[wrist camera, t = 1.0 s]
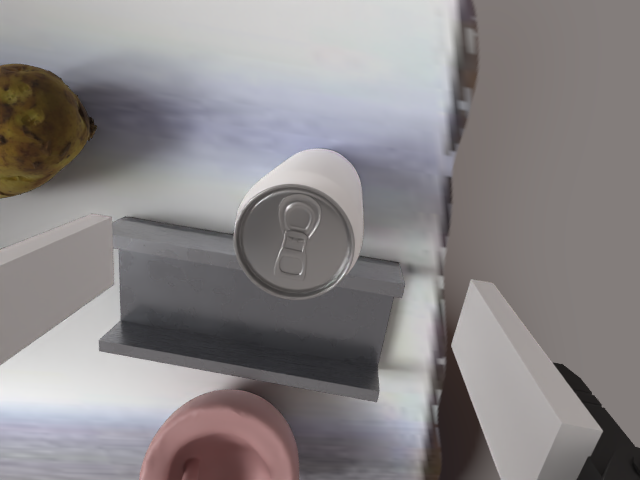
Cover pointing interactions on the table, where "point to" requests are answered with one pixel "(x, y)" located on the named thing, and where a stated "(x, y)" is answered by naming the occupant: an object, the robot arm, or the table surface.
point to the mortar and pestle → (223, 441)
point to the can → (301, 225)
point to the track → (246, 313)
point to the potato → (37, 127)
